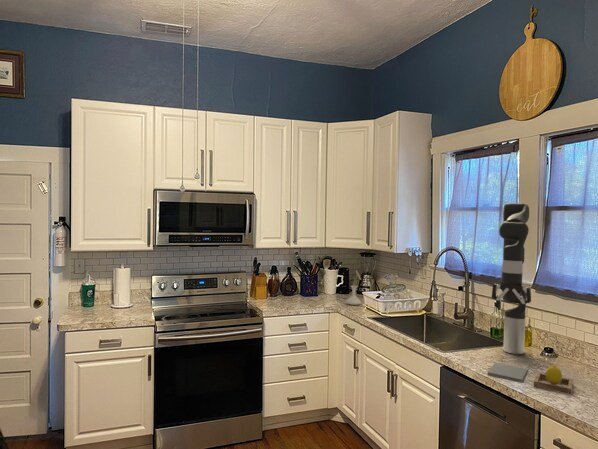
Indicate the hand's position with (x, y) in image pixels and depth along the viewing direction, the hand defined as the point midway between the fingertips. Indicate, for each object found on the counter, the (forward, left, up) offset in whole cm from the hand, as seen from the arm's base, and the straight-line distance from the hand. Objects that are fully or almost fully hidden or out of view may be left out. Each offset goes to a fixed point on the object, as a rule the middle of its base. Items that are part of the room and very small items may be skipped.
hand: (510, 311), depth 177 cm
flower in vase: (-96, -119, -28) cm, 155 cm away
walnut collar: (-4, +16, -28) cm, 32 cm away
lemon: (-3, +16, -28) cm, 32 cm away
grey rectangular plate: (-8, -1, -28) cm, 29 cm away
